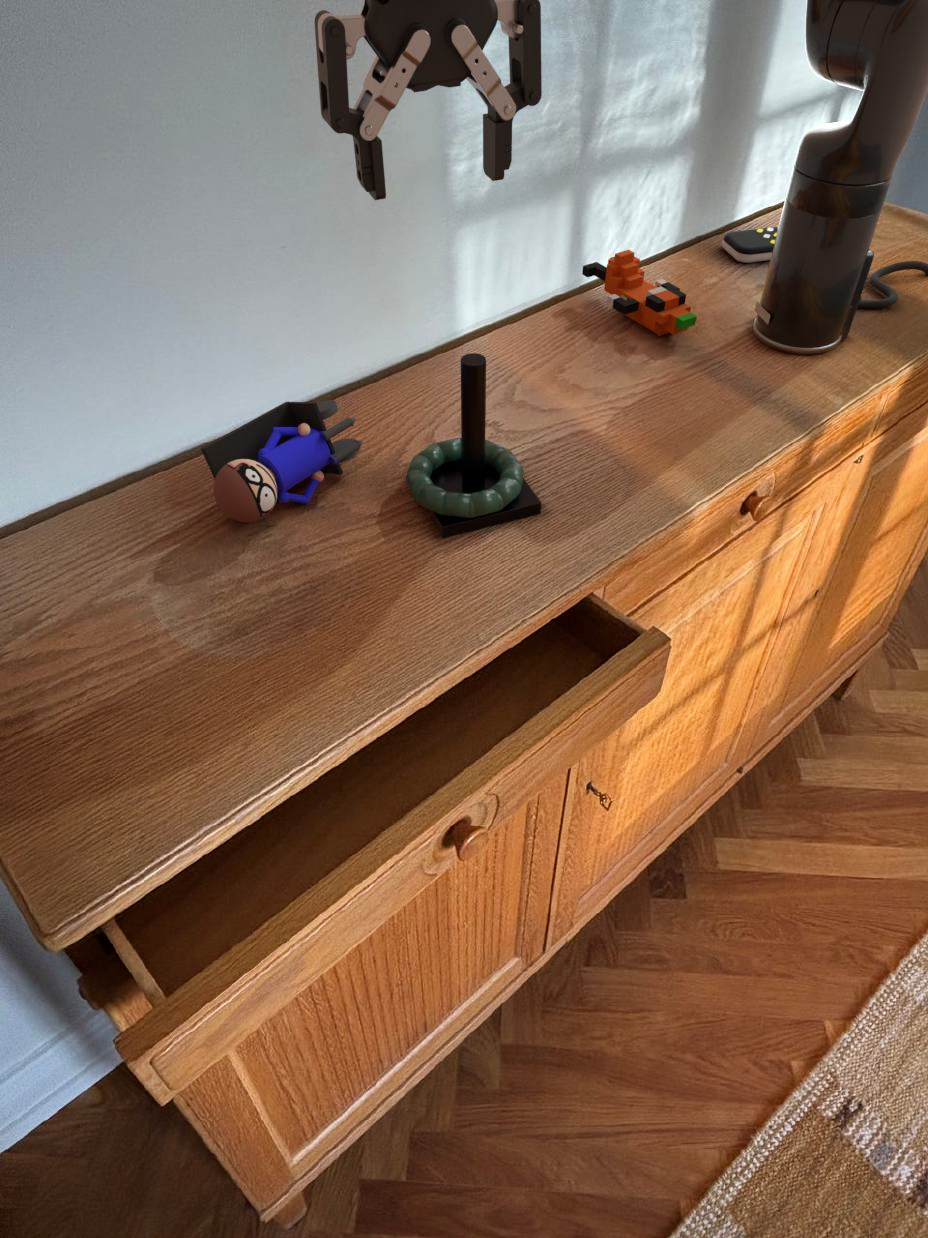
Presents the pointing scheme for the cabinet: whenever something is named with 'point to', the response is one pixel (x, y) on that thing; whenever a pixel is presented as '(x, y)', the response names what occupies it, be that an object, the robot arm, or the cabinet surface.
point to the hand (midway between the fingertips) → (436, 186)
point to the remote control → (751, 244)
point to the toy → (642, 295)
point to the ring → (464, 502)
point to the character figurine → (276, 458)
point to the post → (476, 460)
